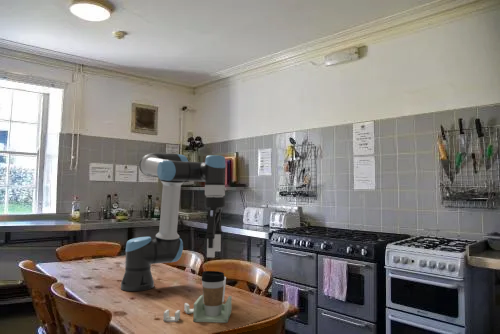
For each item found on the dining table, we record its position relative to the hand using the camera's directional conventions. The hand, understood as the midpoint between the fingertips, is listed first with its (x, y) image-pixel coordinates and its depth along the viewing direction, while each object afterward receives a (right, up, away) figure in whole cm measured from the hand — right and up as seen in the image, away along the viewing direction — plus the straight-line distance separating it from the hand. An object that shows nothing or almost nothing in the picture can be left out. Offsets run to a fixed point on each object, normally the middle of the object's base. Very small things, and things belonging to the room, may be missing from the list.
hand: (214, 254), depth 141 cm
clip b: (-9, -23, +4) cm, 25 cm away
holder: (0, -23, -2) cm, 23 cm away
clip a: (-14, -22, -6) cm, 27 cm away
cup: (-2, -24, +18) cm, 30 cm away
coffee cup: (0, -22, -2) cm, 22 cm away
